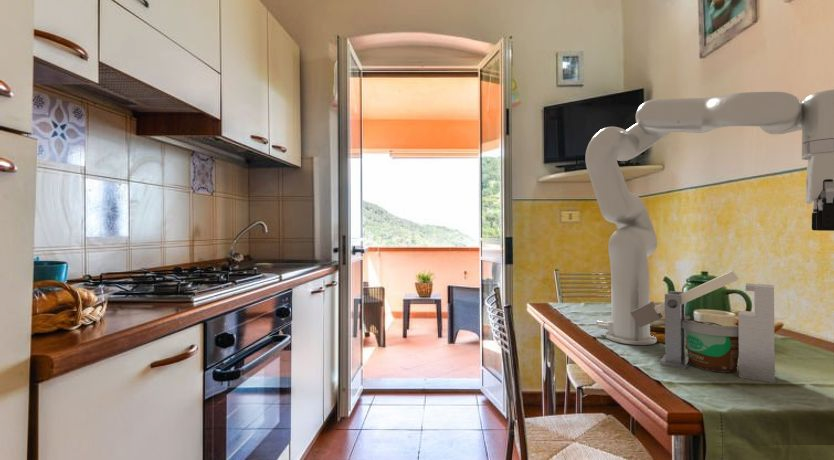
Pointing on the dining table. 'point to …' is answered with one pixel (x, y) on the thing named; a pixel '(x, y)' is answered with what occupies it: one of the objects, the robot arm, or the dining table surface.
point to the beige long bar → (653, 312)
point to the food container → (712, 345)
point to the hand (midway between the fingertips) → (824, 230)
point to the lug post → (758, 336)
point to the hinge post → (674, 332)
